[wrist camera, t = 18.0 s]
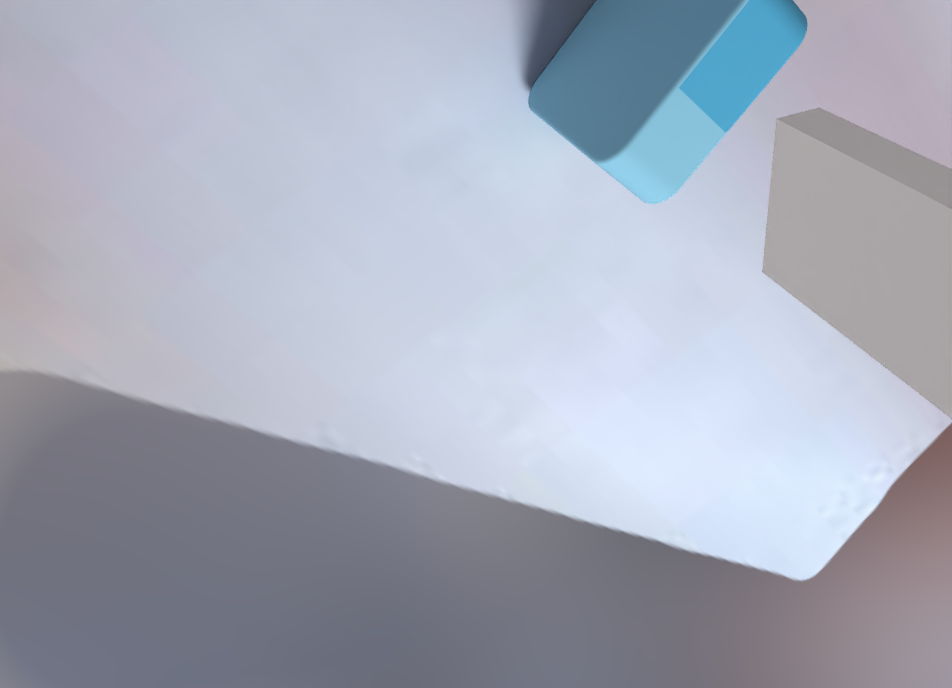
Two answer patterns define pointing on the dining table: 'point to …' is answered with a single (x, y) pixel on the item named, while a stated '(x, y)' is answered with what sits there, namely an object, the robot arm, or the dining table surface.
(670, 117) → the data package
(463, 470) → the dining table surface
